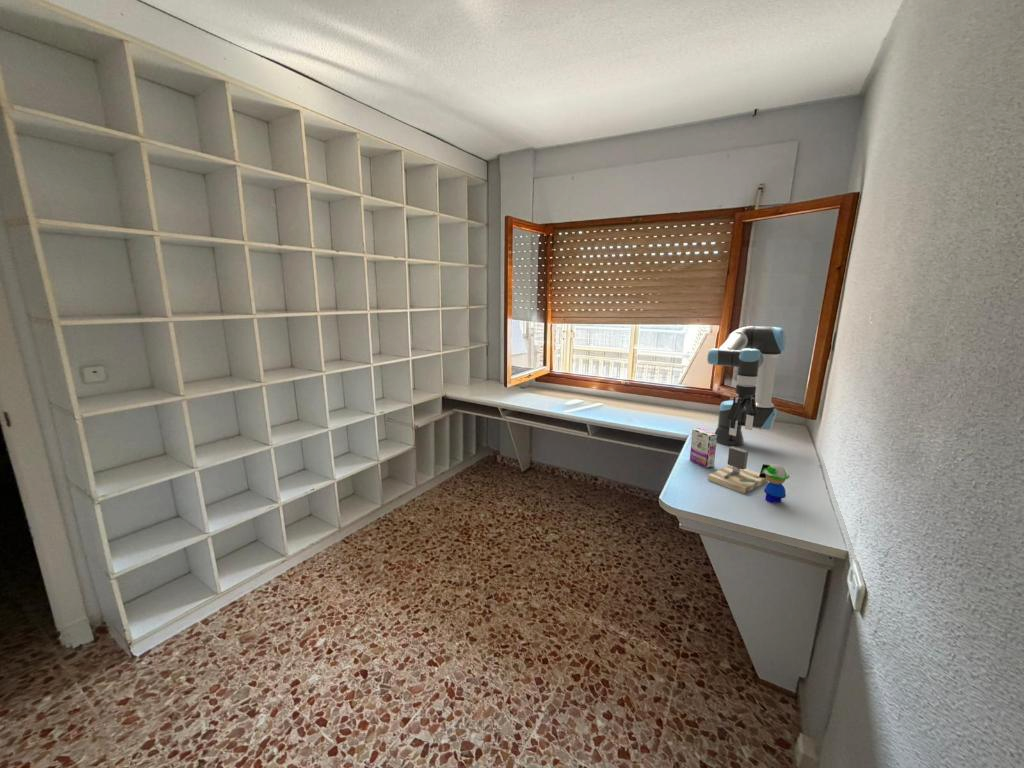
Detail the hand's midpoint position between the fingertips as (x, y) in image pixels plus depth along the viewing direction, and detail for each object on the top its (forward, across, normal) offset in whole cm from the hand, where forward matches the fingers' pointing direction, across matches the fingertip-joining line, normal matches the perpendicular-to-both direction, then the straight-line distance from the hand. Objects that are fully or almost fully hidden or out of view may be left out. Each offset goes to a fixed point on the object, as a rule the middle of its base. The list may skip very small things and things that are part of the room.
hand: (740, 432), depth 180 cm
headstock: (+22, +2, +2) cm, 22 cm away
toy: (+22, +8, +19) cm, 30 cm away
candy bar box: (+22, -3, -18) cm, 29 cm away
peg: (+19, +4, 0) cm, 19 cm away
